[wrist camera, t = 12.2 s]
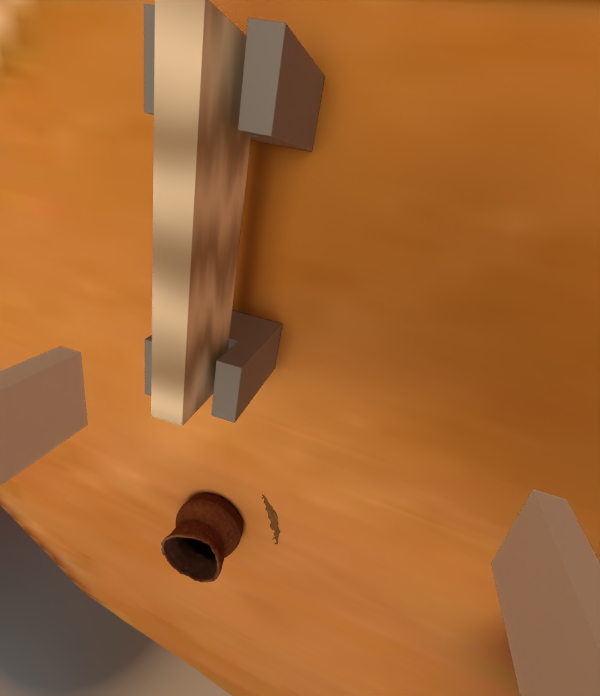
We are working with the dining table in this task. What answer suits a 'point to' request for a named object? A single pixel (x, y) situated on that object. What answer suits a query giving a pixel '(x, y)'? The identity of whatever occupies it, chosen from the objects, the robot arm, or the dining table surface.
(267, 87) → the set of support blocks
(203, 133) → the ash rail plank
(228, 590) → the dining table surface
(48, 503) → the dining table surface
